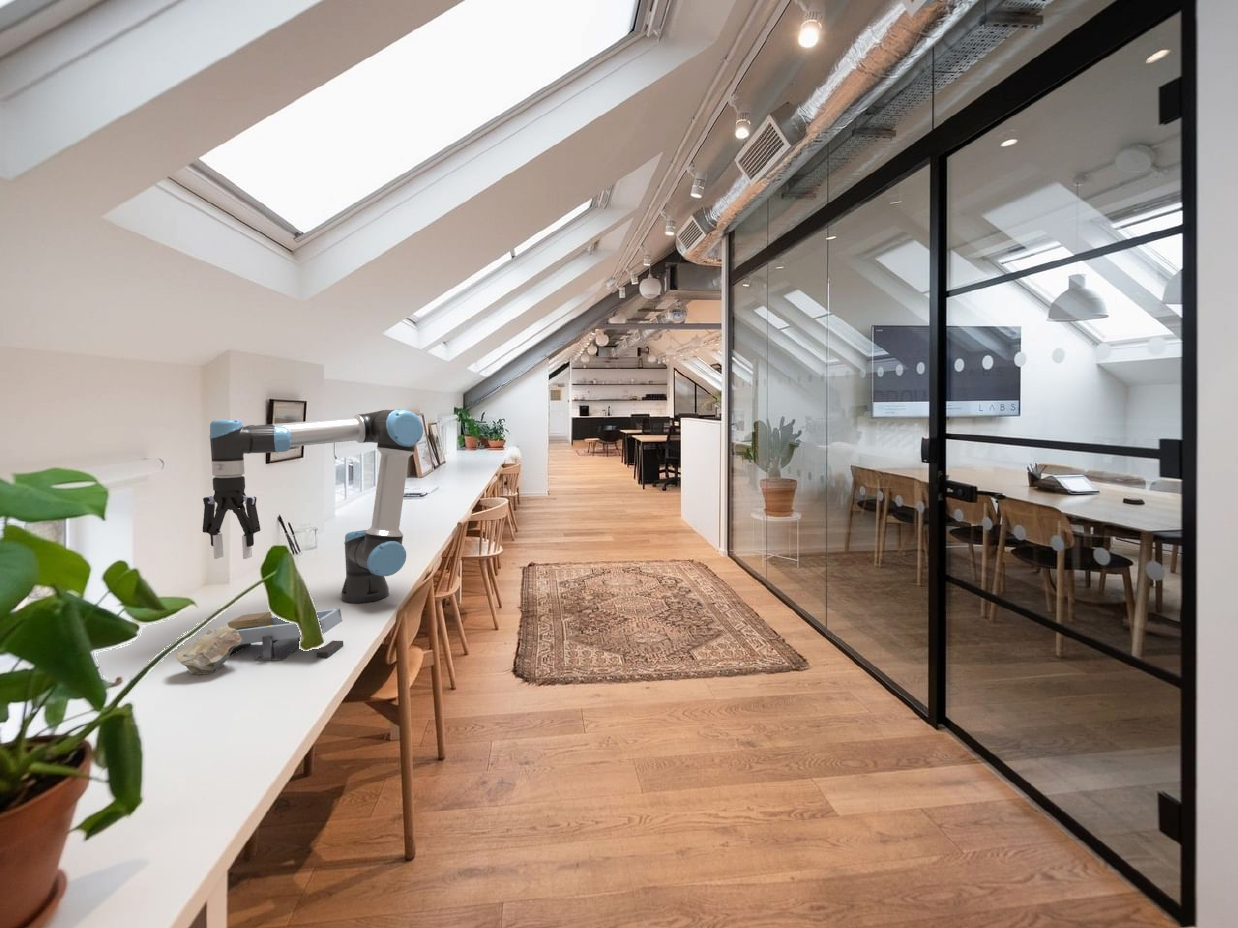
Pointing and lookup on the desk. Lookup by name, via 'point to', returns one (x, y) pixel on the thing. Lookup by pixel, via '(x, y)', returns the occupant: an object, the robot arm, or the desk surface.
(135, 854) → the desk surface
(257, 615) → the brown wooden block
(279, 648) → the fulcrum
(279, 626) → the beam
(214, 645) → the stone
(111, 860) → the desk surface
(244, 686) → the desk surface
